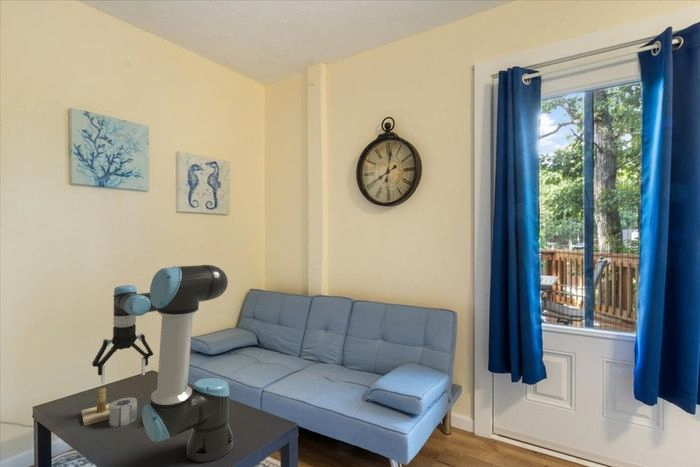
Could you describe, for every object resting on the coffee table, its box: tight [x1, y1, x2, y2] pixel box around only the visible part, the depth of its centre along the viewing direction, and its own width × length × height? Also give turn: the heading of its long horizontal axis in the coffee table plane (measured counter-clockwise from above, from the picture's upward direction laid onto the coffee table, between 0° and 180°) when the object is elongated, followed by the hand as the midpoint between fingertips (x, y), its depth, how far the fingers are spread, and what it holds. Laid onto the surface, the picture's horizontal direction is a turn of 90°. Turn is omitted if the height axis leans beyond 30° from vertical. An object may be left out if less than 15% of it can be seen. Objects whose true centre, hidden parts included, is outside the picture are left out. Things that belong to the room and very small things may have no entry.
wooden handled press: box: [80, 387, 112, 427], centre depth 143 cm, size 12×12×10 cm
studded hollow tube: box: [108, 396, 138, 428], centre depth 138 cm, size 9×9×7 cm
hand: (123, 378), depth 139 cm, fingers open, 13 cm apart
